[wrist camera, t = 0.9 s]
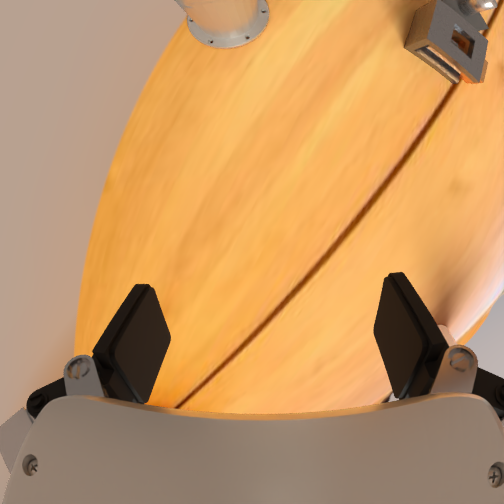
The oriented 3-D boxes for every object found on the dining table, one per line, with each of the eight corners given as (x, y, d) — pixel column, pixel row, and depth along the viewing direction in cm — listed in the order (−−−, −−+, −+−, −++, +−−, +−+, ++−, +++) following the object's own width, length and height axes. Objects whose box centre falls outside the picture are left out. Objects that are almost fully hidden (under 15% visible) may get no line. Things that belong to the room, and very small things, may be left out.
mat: (434, -9, 21) (435, -9, 21) (461, -12, 18) (462, -12, 18) (463, 34, 25) (464, 34, 24) (487, 28, 22) (488, 28, 21)
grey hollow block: (403, 47, 30) (426, 38, 22) (416, 10, 25) (437, -3, 18) (463, 93, 31) (490, 93, 24) (473, 55, 26) (499, 52, 19)
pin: (456, 4, 21) (483, -7, 13) (464, 2, 20) (490, -8, 12) (464, 16, 22) (492, 7, 14) (471, 15, 21) (499, 7, 13)
